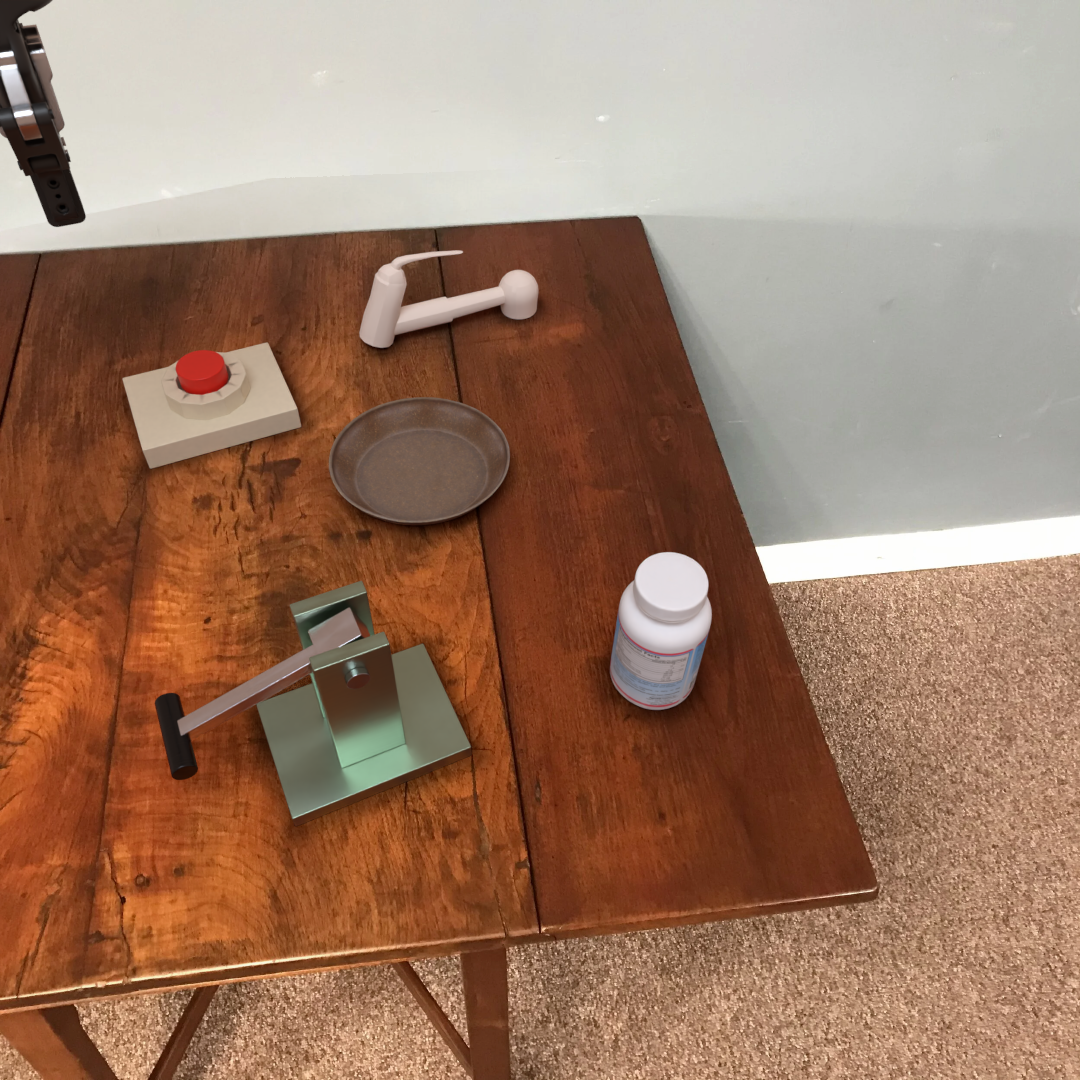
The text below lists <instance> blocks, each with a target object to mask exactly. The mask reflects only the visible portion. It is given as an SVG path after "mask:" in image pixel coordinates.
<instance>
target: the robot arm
mask: <svg viewBox="0 0 1080 1080" xmlns="http://www.w3.org/2000/svg"><path fill="white" fill-rule="evenodd" d="M52 2H53V0H0V135H1V136H2V137H3V138H6V139H7V141H8V143H9V145H10V148H11V149H12V151H13V153H14V155H15V158H16V159H17V161H16V163H17V165H18V168H19V170H20V171H22V172H23V174H24V176H25V177H29V178H30V179H31V182H32V185H33V187H34V190H35V193H36V195H37V198H38V200H39V203H40V205H41V207H42V210H43V213H44V215H45V218H46V221H47V223H48V224H49V225H50V226H51V227H54V228H61V227H67V226H72V225H77V224H81V223H83V222H85V220H86V218H87V215H86V212H85V208H84V206H83V202H82V199H81V196H80V194H79V191H78V188H77V185H76V183H75V180H74V176H73V174H72V171H71V166H70V165H71V164H70V163H71V162H72V161H71V156H70V153H69V150H68V149H65V147H67V144H66V141H65V137H64V136H61V134H60V132H61V131H63V129H64V128H65V120H64V117H63V114H62V110H61V108H60V105H59V102H58V98H57V95H56V92H55V90H54V87H53V83H52V80H53V78H54V77H53V76H54V73H53V71H52V67H51V65H50V61H49V59H48V56H47V52H46V49H45V46H44V43H43V40H42V38H41V35H40V31H39V29H38V26H37V24H36V23H35V24H28V25H27V24H26V25H23V22H20V21H19V19H20V18H21V17H22V16H24V15H25V14H27V13H29V12H32V13H35V12H38V11H40V10H41V9H43V8H45V7H46V6H48V5H49V4H50V3H52Z"/></svg>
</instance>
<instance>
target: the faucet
mask: <svg viewBox="0 0 1080 1080" xmlns="http://www.w3.org/2000/svg"><path fill="white" fill-rule="evenodd" d="M463 253H464V251H463V250H461V249H460V250H458V249H457V250H455V249H454V250H440V251H427V252H420V253H414V254H405V255H401V256H397V257H396V258H394V259H393V260H392V261H391V262H389V263H386V264H383V265H382V266H381V267H380V268H379V269H378V271H377V272H375V273H374V278H373V282H372V286H371V291H370V294H369V295H370V296H369V298H368V300H367V304H366V306H365V309H364V312H363V315H362V319H361V324H360V328H359V338H360V340H362V341H363V342H364V343H365V344H367V345H369V346H372V347H375V348H380V349H384V348H390V347H391V345H393V344H394V340H395V337H396V336H397V335H398V336H399V335H402V334H405V333H406V334H407V333H410V332H414V331H419V330H423V329H428V328H432V327H436V326H440V325H445V324H449V323H452V322H453V320H455V319H458V318H461V317H464V316H468V315H472V314H474V313H478V312H482V311H485V310H488V309H489V310H490V309H491V308H495V307H499V306H500V310H501V313H502V314H503V315H504V316H505V317H507V318H508V319H513V320H525V319H528V318H531V317H532V316H534V315H535V314H536V313H537V310H538V299H539V291H540V290H539V284H538V282H537V280H536V278H535V277H534V276H533V275H532V274H531V273H530V272H528V271H526V270H523V269H513V270H511V271H508V272H506V273H505V274H504V275H503V276H502V278H501V279H500V282H499V284H498V286H495V287H491V288H486V289H482V290H478V291H473V292H469V293H468V292H467V293H464V294H459V295H456V296H452V297H446V296H440V297H437V298H431V299H428V300H424V301H420V302H415V303H411V304H408V305H403V306H402V304H403V300H404V295H405V292H406V288H407V285H408V284H407V276H406V274H405V271H404V269H403V268H402V267H403V266H405V265H407V264H410V263H413V262H417V261H418V262H419V261H421V260H427V259H431V258H438V257H449V256H454V255H455V256H456V255H462V254H463Z"/></svg>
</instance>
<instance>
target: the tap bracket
mask: <svg viewBox="0 0 1080 1080" xmlns="http://www.w3.org/2000/svg"><path fill="white" fill-rule="evenodd" d="M368 595H369V594H368V591H367V589H366V587H365V584H364V582H363V580H358V581H356V582H353V583H350V584H347V585H344V586H341V587H337V588H335V589H332V590H329V591H325V592H322V593H320V594H316V595H313V596H311V597H308V598H305V599H301V600H299V601H296V602H292V603H290V604H289V609H290V613H291V616H292V619H293V622H294V626H295V629H296V632H297V636H298V640H299V642H300V643H299V644H300V647H301V649H302V650H304V649H305V648H307V647H309V646H311V645H313V643H312V641H311V638H310V635H309V633H308V630H309V629H311V628H313V627H315V626H316V625H318V624H320V623H322V622H324V621H325V620H327V619H329V618H331V617H332V616H334V615H336V614H338V613H340V612H341V611H343V610H345V609H347V608H349V607H350V608H351V609H352V610H353V611H354V612H355V613H356V615H357V616H358V617H359V618H360V619H361V620H362V621H363V622H364V624H365V625H366V626H367V629H368V631H369V634H370V636H369V637H366V638H363V639H360V640H358V641H355V642H352V643H349V644H346V645H343V646H341V647H338V648H335V649H332V650H329V651H326V652H323V653H321V654H318V655H315V656H312V657H310V658H309V661H310V664H311V668H312V671H313V673H311V674H309V676H310V680H311V683H309V684H306V685H303V686H300V687H298V688H295V689H292V690H290V691H287V692H284V693H281V694H278V695H275V696H272V697H269V698H267V699H265V700H263V701H261V702H259V703H258V704H256V708H257V711H258V716H259V718H260V722H261V724H262V728H263V731H264V734H265V737H266V741H267V743H268V747H269V749H270V750H269V751H270V754H271V757H272V759H273V762H274V766H275V770H276V772H277V775H278V779H279V782H280V785H281V788H282V792H283V794H284V795H283V796H284V798H285V801H286V804H287V808H288V810H289V814H290V818H291V820H292V822H293V825H294V827H298V826H300V825H303V824H305V823H309V822H312V821H313V820H315V819H318V818H321V817H323V816H326V815H328V814H330V813H333V812H335V811H338V810H340V809H343V808H346V807H347V806H350V805H353V804H355V803H358V802H360V801H362V800H365V799H367V798H370V797H373V796H375V795H377V794H380V793H382V792H384V791H387V790H390V789H392V788H395V787H397V786H399V785H402V784H404V783H408V782H409V781H412V780H414V779H417V778H419V777H422V776H424V775H426V774H429V773H431V772H433V771H434V772H435V771H436V770H439V769H441V768H444V767H447V766H448V765H451V764H453V763H457V762H459V761H461V760H464V759H466V758H469V757H471V756H472V754H473V753H472V745H471V742H470V741H469V738H468V737H467V734H466V732H465V730H464V728H463V726H462V724H461V721H460V719H459V717H458V715H457V713H456V711H455V709H454V706H453V704H452V702H451V700H450V697H449V695H448V693H447V691H446V689H445V687H444V684H443V683H442V681H441V678H440V676H439V674H438V672H437V669H436V667H435V665H434V663H433V661H432V659H431V657H430V655H429V652H428V650H427V648H426V646H425V644H424V643H419V644H417V645H415V646H412V647H408V648H406V649H403V650H400V651H397V652H395V653H392V651H391V644H390V642H389V639H388V637H387V634H386V632H385V631H381V632H378V633H375V628H374V622H373V617H372V612H371V606H370V601H369V596H368ZM302 650H301V651H302Z"/></svg>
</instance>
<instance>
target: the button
mask: <svg viewBox="0 0 1080 1080" xmlns="http://www.w3.org/2000/svg"><path fill="white" fill-rule="evenodd" d="M217 352H218V351H214V350H209V349H199V350H194V351H191V352H188V353H186V354H184V355H183V356H181V357H180V358H179V359H178V360H179V361H178V360H177V361H178V362H177V361H176V362H177V364H176V373H177V376H178V379H179V381H180V384H181V387H182V388H183V390H185V391H186V392H187V393H190V394H196V395H204V394H208V393H212V392H216V391H218V390H219V389H221V388H222V387H224V386H225V385H226V383H227V381H228V372H227V369H226V365H225V362H224V359H223V357H222V356H221V355H220V354H218V353H217Z"/></svg>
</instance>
